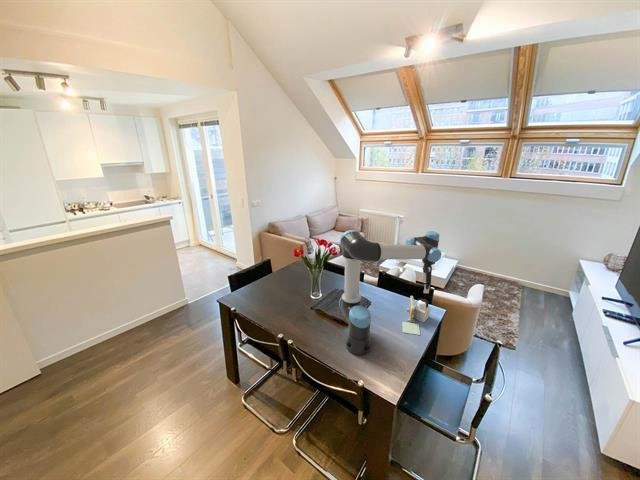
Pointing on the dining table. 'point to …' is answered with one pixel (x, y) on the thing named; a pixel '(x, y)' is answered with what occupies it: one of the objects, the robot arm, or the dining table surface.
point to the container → (422, 310)
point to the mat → (411, 328)
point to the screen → (411, 310)
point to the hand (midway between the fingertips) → (424, 287)
